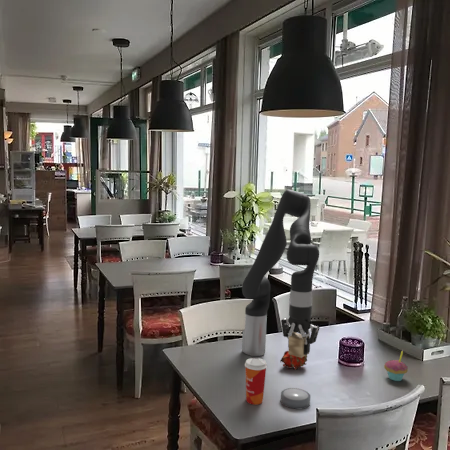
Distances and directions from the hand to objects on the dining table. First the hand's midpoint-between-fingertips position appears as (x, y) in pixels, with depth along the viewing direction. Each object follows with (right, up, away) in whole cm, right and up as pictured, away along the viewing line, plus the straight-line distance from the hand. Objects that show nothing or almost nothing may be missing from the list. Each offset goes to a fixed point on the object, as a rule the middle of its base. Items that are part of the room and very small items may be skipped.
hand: (298, 351), depth 166 cm
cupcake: (+41, -16, +23) cm, 50 cm away
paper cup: (-15, -17, +2) cm, 23 cm away
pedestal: (-1, -18, +2) cm, 18 cm away
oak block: (0, -1, 0) cm, 1 cm away
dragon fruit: (+2, -14, +31) cm, 34 cm away
